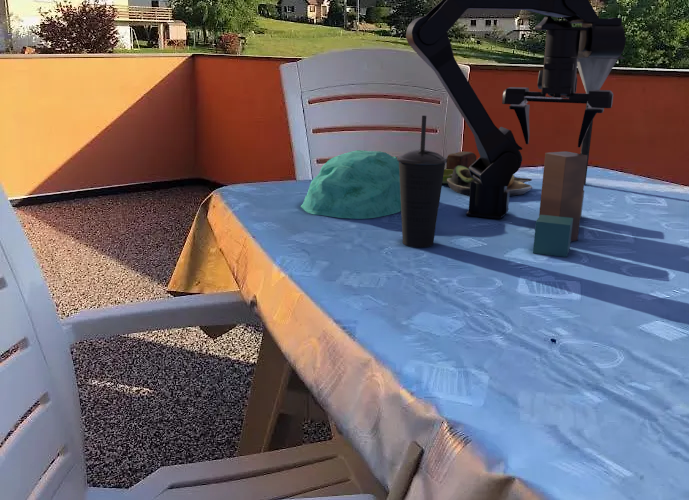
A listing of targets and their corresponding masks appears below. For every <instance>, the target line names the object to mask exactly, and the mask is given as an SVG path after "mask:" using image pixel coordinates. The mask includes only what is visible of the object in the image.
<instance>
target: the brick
mask: <svg viewBox="0 0 689 500" xmlns="http://www.w3.org/2000/svg"><path fill="white" fill-rule="evenodd" d="M477 157H478V156H477V155H476V153H475V152H472V151H464V150H463V151H458V152H454V153H449V154H447V157H446V158H447V163H445V166H446V167H445V169H449V170H454V168H455V167H456V166H460V165H461V166H464V167H466V168H468V169H469V167H470V166H471V165H472V164H473V163H474V162H475V161H476V160H477V159H478V158H477Z"/></svg>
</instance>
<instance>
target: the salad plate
mask: <svg viewBox="0 0 689 500" xmlns="http://www.w3.org/2000/svg"><path fill="white" fill-rule="evenodd" d="M449 176H452V178H447V183H448V184H447V185H448V188H449V189H450V190H452V191H454V192H456V193H458V194H461V195H465V196H469V197H470V184H471V181H472V180H473V179H474V178H472V177H471V175H470V171H469V169H468V168H466V167H464V166H461V165H460V166H456V167H455V168H454V170H453V174H451V175H449ZM532 181H533V180H532V178H525V177H515V174H513V176H512V178H511V180H510V182H509V185H508V186H507V190H509V191H510V194H509V197H512V196H520V195H522V196H523V195H524V194H526V193H527V192H529V191H531V190H532V189H533V186H532V185H531V184H528V183H527V182H532Z"/></svg>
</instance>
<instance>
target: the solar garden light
mask: <svg viewBox="0 0 689 500" xmlns="http://www.w3.org/2000/svg"><path fill="white" fill-rule="evenodd" d="M575 58H578V62H577V70H578V73H579V77H580V79H581V82H582V85H583V88H584V91H585V93H588V94H589V91H590V90H601V88H602V87H603V85H604V83H605V82H606V80H607V78H608V76H609V75H610V73H611V71H612V70H613V68H614V66H615V65H616V63H617V62H618V60H626V58H625V57H624V56H622V54H621V55H620V56H619V57H618V58H597V57H585V56H584V55H583V52H581V51H579V52H578V57H575ZM587 107H588V106H587V104H585V109H586V108H587ZM593 123H594V119H593V120H592V122H591V124H590V126H589V128H588V130H587V132H586V135H585V137H584V140H583V142H582V144H581V147H580V154H583V155H587V163H586V172H585V180H584V186H585V185H586V183H587V176H588V167H589V166H588V165H589V160H590V159H589V157H590V149H591V140H592V132H593V125H594V124H593Z"/></svg>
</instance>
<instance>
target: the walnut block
mask: <svg viewBox="0 0 689 500" xmlns="http://www.w3.org/2000/svg"><path fill="white" fill-rule="evenodd" d="M586 163H587V155H583V154H581V153H578V152H577V153H576V152H571V151H554V152H553V151H551V152H550V151H549V152H545V153H544V162H543V172H542V183H541V193H540V203H539V212H538V217H539V216H540V215H549V216H559V217H568V218H573V224H572V233H571V242H576V241H578V240H579V232H580V224H581V223H580V222H581V219H580V215H581V207H582V208H583V206H582V198H583V190H584V188H585V185H584V180H585V172H586ZM583 199H584V198H583ZM581 216H582V215H581Z"/></svg>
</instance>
